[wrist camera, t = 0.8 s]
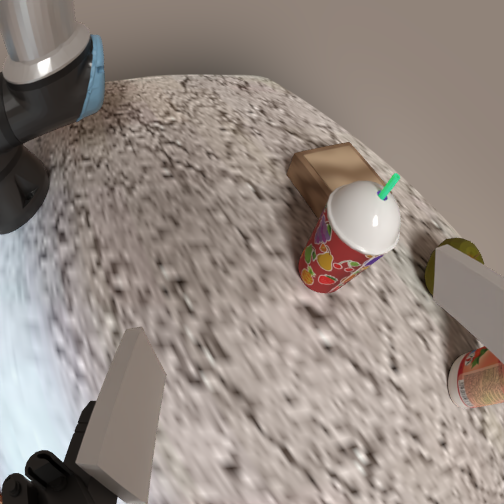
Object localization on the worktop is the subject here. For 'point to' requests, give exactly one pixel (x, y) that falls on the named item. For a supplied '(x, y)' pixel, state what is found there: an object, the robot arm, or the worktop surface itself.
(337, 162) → the brown flat block
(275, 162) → the worktop surface
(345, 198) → the smoothie
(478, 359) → the fruit juice
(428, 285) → the apple
